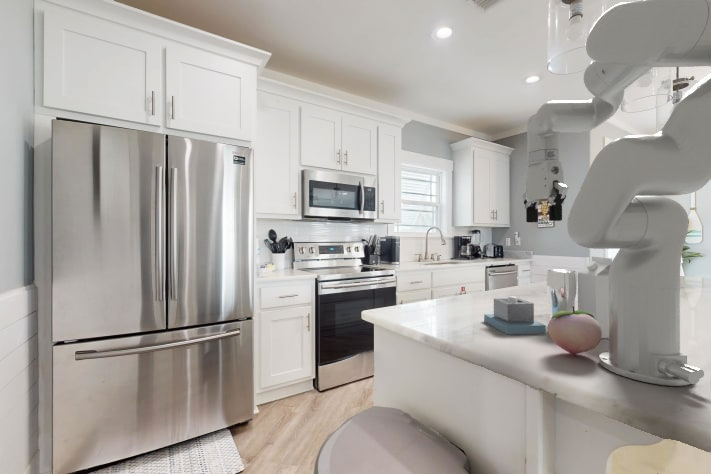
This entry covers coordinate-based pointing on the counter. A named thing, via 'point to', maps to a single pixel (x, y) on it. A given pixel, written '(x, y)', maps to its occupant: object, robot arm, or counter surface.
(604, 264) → the milk carton
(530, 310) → the gray square block
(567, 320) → the decorative fruit
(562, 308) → the beer glass
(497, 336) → the counter surface
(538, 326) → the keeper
